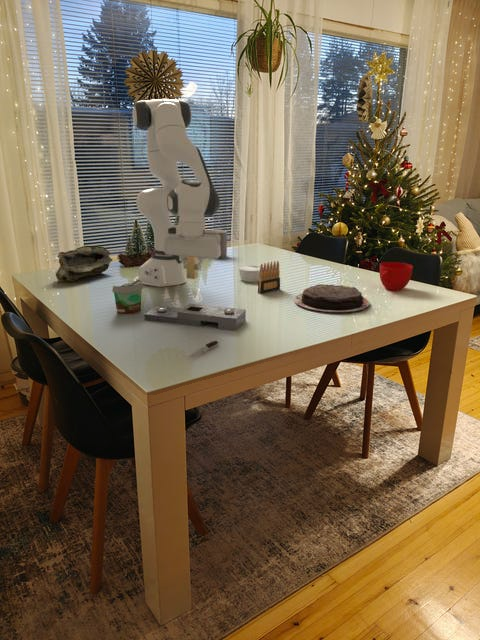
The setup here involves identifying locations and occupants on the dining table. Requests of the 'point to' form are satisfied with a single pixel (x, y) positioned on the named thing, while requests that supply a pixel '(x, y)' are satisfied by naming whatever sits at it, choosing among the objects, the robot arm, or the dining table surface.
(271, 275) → the ammunition clip
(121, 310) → the food container
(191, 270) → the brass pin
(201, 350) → the pocket knife
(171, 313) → the lower chain end
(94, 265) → the hollow geode rock
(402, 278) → the ceramic cup
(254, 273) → the ramekin
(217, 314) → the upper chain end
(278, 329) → the dining table surface
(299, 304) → the chocolate cake
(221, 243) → the pillar candle
